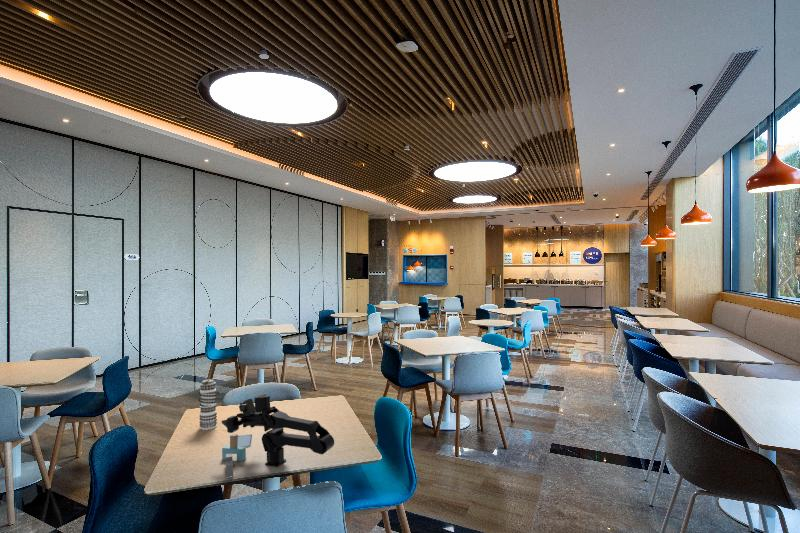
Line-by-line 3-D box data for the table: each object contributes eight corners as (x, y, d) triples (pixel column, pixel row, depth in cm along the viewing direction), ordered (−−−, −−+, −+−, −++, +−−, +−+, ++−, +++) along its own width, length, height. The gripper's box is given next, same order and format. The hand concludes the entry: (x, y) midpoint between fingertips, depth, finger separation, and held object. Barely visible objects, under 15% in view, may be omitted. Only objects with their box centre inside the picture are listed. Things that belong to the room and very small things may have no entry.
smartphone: (233, 448, 197) (236, 435, 212) (233, 450, 197) (236, 437, 212) (250, 446, 199) (252, 434, 214) (250, 448, 199) (252, 436, 214)
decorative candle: (201, 431, 221) (201, 383, 221) (196, 427, 228) (196, 380, 228) (219, 427, 227) (219, 380, 227) (214, 422, 234) (213, 377, 234)
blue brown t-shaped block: (245, 458, 186) (245, 434, 186) (242, 461, 184) (242, 436, 184) (225, 456, 188) (225, 433, 189) (222, 459, 186) (222, 435, 186)
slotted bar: (225, 466, 179) (225, 454, 179) (232, 464, 180) (232, 453, 180) (226, 478, 168) (226, 465, 168) (233, 476, 169) (233, 464, 169)
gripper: (269, 394, 194) (242, 394, 200) (241, 406, 177) (212, 406, 182) (271, 419, 194) (244, 418, 199) (243, 433, 176) (214, 432, 182)
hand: (229, 418), depth 191 cm, fingers open, 9 cm apart
